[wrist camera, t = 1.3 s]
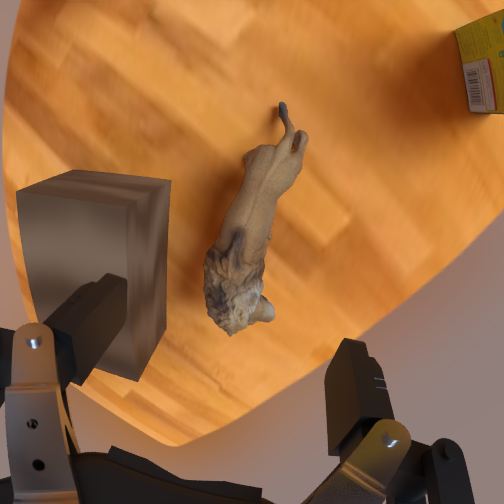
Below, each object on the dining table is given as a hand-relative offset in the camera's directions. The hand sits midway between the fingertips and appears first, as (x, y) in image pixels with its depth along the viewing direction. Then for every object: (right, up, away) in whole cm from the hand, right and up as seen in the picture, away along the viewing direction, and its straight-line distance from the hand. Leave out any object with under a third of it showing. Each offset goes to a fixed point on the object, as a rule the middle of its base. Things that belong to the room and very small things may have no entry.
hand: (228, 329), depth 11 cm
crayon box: (+19, +18, +7) cm, 27 cm away
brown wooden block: (-12, +3, +17) cm, 21 cm away
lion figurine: (+2, +7, +14) cm, 15 cm away
